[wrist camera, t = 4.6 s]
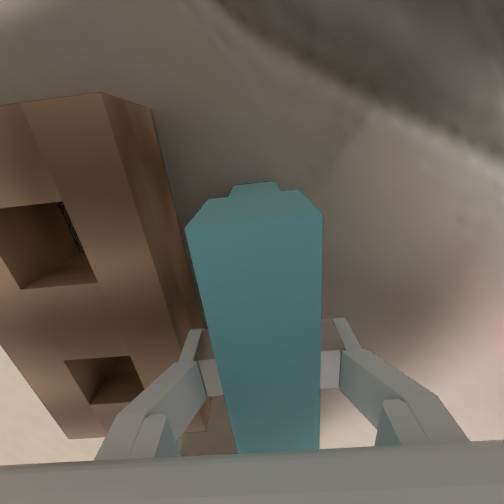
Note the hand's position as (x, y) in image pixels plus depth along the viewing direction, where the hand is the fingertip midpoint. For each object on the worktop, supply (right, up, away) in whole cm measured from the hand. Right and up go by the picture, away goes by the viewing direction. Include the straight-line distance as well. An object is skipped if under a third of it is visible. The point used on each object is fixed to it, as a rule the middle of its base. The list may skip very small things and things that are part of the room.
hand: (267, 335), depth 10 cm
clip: (0, +2, +5) cm, 6 cm away
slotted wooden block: (-9, +2, +6) cm, 11 cm away
